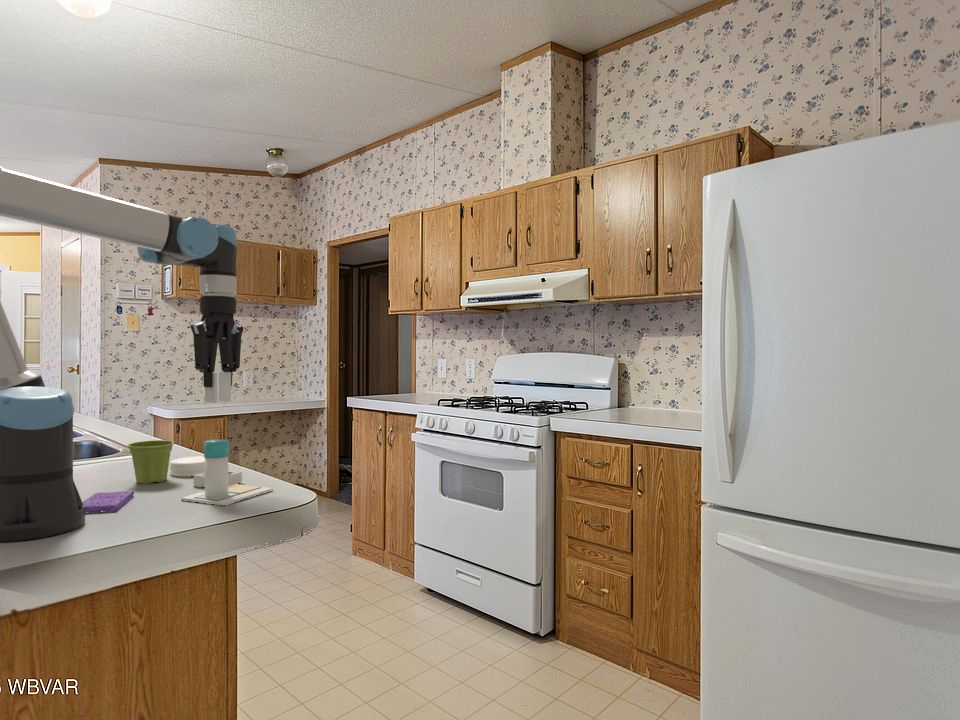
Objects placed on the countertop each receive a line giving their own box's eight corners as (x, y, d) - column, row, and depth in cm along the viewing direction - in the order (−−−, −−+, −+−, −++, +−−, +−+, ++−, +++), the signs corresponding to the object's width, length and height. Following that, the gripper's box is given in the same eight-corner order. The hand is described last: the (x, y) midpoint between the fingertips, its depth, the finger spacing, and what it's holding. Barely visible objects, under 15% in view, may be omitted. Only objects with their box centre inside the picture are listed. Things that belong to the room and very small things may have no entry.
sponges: (73, 516, 114) (73, 506, 114) (95, 500, 126) (95, 491, 126) (116, 514, 116) (116, 504, 116) (134, 498, 128) (134, 489, 128)
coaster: (175, 479, 145) (175, 464, 145) (165, 472, 153) (165, 458, 153) (220, 474, 151) (220, 460, 151) (208, 468, 159) (208, 454, 159)
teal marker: (216, 499, 123) (216, 443, 123) (198, 496, 125) (198, 442, 124) (233, 494, 127) (233, 440, 127) (216, 492, 129) (216, 438, 129)
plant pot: (160, 486, 137) (160, 446, 137) (118, 485, 137) (118, 446, 137) (182, 477, 147) (182, 440, 146) (142, 476, 147) (142, 440, 147)
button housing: (218, 489, 134) (218, 477, 134) (193, 486, 137) (193, 475, 137) (241, 483, 141) (241, 472, 141) (217, 480, 143) (217, 469, 143)
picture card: (224, 506, 120) (224, 502, 120) (181, 500, 124) (181, 497, 124) (272, 490, 134) (272, 487, 134) (232, 486, 137) (232, 483, 137)
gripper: (231, 299, 147) (231, 398, 148) (175, 293, 132) (175, 404, 132) (257, 298, 144) (257, 399, 145) (202, 292, 129) (202, 405, 130)
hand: (218, 401), depth 139 cm, fingers open, 3 cm apart
